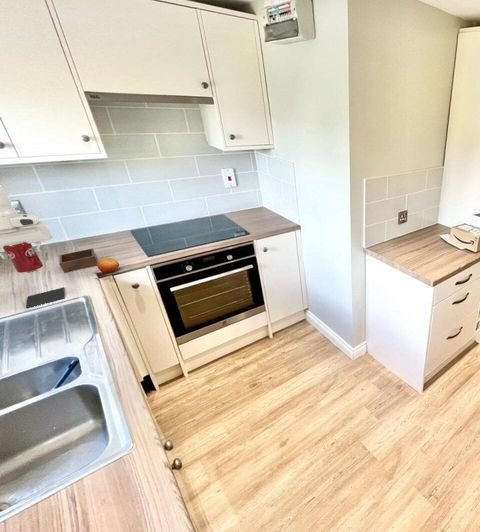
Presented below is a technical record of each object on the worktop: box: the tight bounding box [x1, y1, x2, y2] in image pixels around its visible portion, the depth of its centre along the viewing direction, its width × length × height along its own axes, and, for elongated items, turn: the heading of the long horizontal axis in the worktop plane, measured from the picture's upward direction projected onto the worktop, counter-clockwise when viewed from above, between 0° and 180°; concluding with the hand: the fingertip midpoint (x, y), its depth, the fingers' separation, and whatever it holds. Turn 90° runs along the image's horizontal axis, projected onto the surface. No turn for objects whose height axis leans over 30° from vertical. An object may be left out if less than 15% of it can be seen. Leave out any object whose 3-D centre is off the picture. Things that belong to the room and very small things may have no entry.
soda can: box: [2, 242, 44, 274], centre depth 125 cm, size 7×7×12 cm
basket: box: [58, 247, 99, 274], centre depth 159 cm, size 13×13×5 cm
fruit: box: [96, 256, 120, 275], centre depth 153 cm, size 8×8×8 cm
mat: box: [25, 287, 66, 309], centre depth 133 cm, size 11×11×1 cm
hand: (23, 255), depth 125 cm, fingers closed on soda can, 7 cm apart
